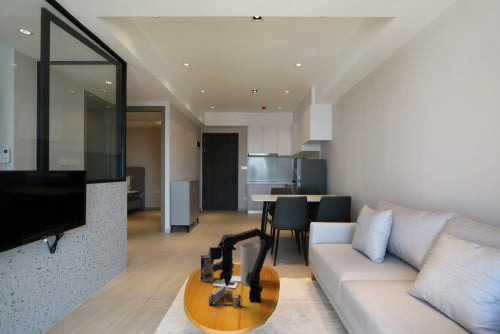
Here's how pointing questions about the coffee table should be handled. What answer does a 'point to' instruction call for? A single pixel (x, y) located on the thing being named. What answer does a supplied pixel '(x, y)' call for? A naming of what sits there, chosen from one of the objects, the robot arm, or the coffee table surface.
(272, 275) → the coffee table surface
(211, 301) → the dark grey long piece
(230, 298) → the walnut block
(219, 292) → the grey block
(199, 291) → the coffee table surface
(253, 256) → the cylinder vase
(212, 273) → the coffee box
